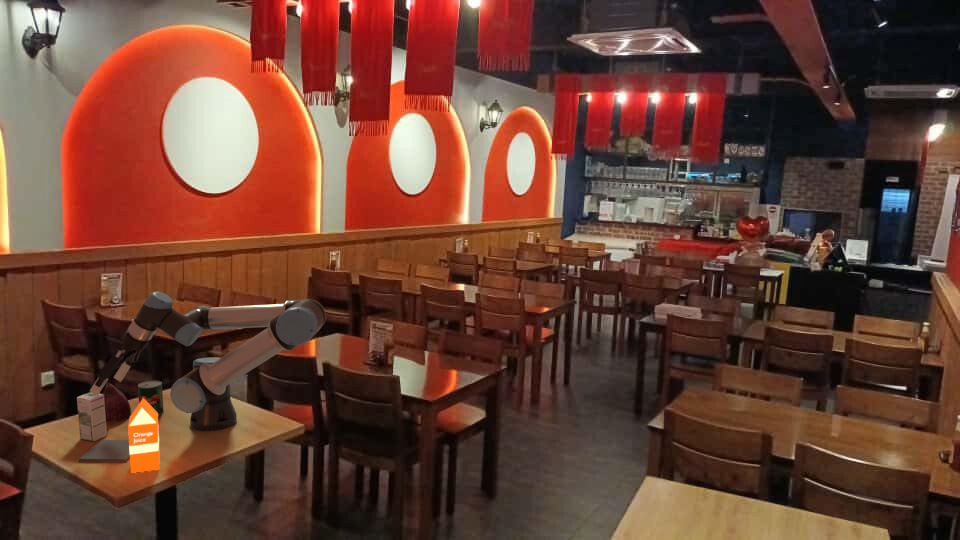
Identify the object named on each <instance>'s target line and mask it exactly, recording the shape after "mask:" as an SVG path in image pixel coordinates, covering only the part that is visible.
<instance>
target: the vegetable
mask: <svg viewBox="0 0 960 540" xmlns="http://www.w3.org/2000/svg"><path fill="white" fill-rule="evenodd" d="M102 394H104V403H105V417H106V423H116V421H117V422H121V421H123V420H126V418H127V419H130V416H131V415H132V408H131V405H130V402H129V400H128V398H127V397H126V395H125V394H124V393H123V392H122V391H120V390H119V389H117V387H115V385H113V384H112V383H108V382H106V384H105V388H104V390H103V393H102Z"/></svg>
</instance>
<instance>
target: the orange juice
mask: <svg viewBox="0 0 960 540" xmlns="http://www.w3.org/2000/svg"><path fill="white" fill-rule="evenodd" d="M128 419H129V420H128V425H127V429H128V430H127V431H128V440H129V451H130V459H129V461H130V462H129V465H130V474H131V473H134V474H137V473H136V472H141V473H145V472H144V471H148V472H152V471H151V470H155V471H159V470H160V466H161V465H160V464H161V463H160V462H161V451H160V450H161V449H160V434H159V433H160V431H159V430H160V429H159V415H158V413H157V412H156V411H155V410H154V409H153V408H152V406H151V405H150V404H149V403H148V402H147V401H146V400H145V399H144V398H143V399H142V400H141V402H140V403H139V402H138V404H137V406H136V407H135V409H134V411H132V412H131V416H130V417H129V418H128ZM159 465H160V466H159Z"/></svg>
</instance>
